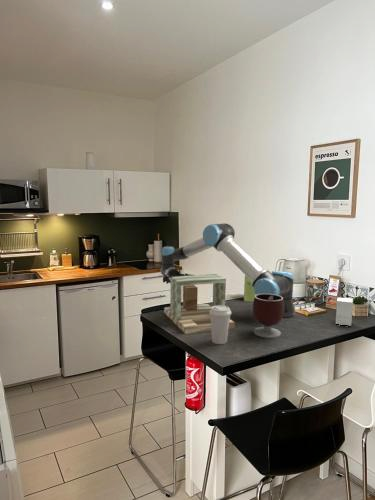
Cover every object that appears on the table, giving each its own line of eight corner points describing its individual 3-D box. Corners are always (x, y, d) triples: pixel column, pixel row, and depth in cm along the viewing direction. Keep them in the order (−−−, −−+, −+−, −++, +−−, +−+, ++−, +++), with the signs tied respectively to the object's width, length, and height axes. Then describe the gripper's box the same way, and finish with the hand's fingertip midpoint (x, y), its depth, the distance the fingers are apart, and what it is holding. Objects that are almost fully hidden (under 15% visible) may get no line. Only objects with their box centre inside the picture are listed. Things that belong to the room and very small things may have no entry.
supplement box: (351, 323, 196) (353, 298, 195) (351, 327, 190) (352, 302, 188) (336, 320, 199) (337, 296, 198) (335, 325, 193) (336, 300, 191)
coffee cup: (207, 337, 173) (207, 305, 171) (228, 337, 173) (229, 304, 171) (210, 345, 163) (211, 311, 161) (232, 345, 164) (233, 311, 162)
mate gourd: (250, 327, 187) (251, 287, 184) (279, 328, 187) (281, 287, 184) (254, 339, 172) (256, 295, 169) (286, 340, 171) (288, 296, 168)
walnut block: (197, 309, 205) (197, 287, 203) (186, 310, 203) (186, 288, 201) (193, 306, 211) (193, 284, 209) (182, 307, 209) (183, 285, 207)
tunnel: (234, 328, 185) (235, 283, 182) (185, 333, 177) (186, 286, 174) (207, 308, 217) (207, 270, 214) (164, 312, 209) (164, 272, 206)
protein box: (269, 303, 232) (270, 277, 229) (243, 301, 235) (244, 276, 233) (269, 298, 242) (270, 274, 240) (244, 296, 245) (245, 272, 243)
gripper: (192, 279, 237) (205, 286, 217) (152, 282, 229) (162, 289, 209) (192, 267, 236) (205, 273, 216) (152, 269, 228) (162, 276, 208)
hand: (184, 281), depth 213 cm, fingers open, 13 cm apart
